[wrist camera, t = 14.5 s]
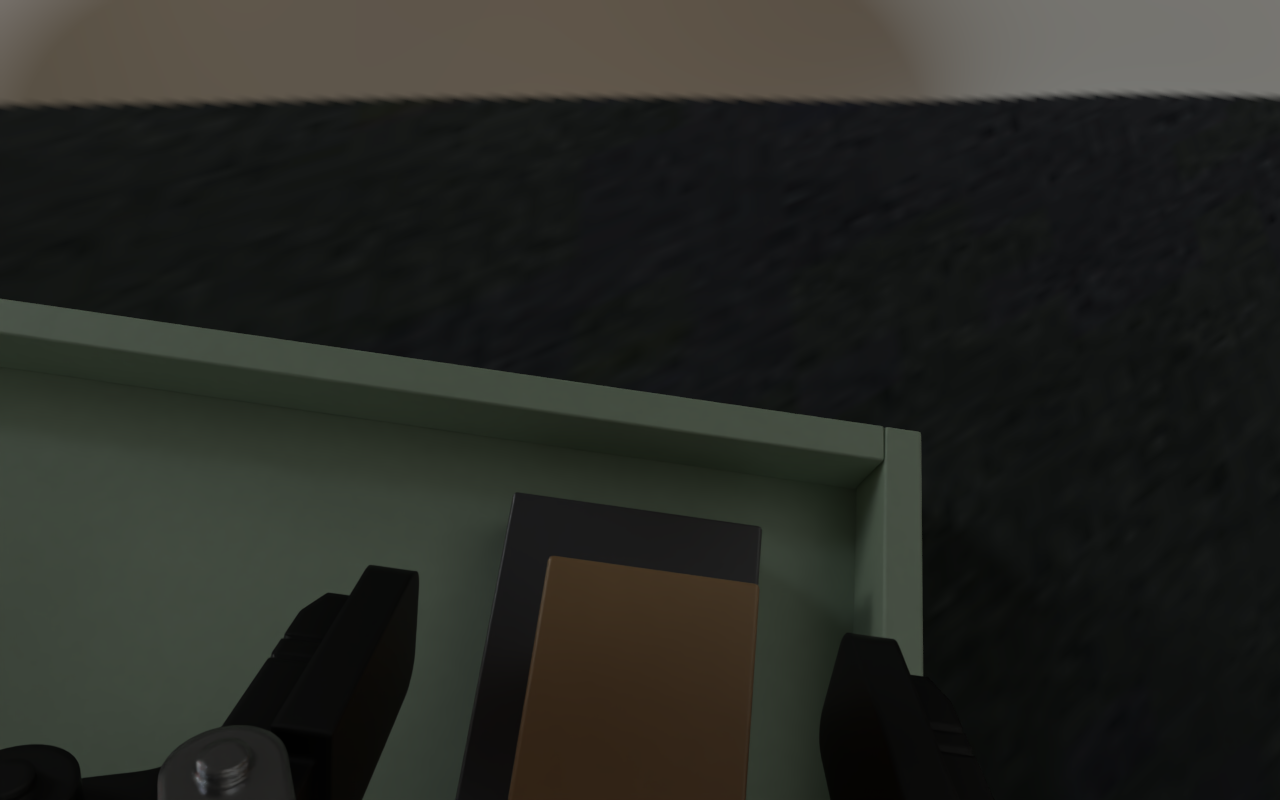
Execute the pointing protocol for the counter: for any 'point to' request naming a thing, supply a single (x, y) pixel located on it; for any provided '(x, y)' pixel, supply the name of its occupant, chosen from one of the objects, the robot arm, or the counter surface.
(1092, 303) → the counter surface
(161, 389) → the tray
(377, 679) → the robot arm
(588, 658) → the eraser
